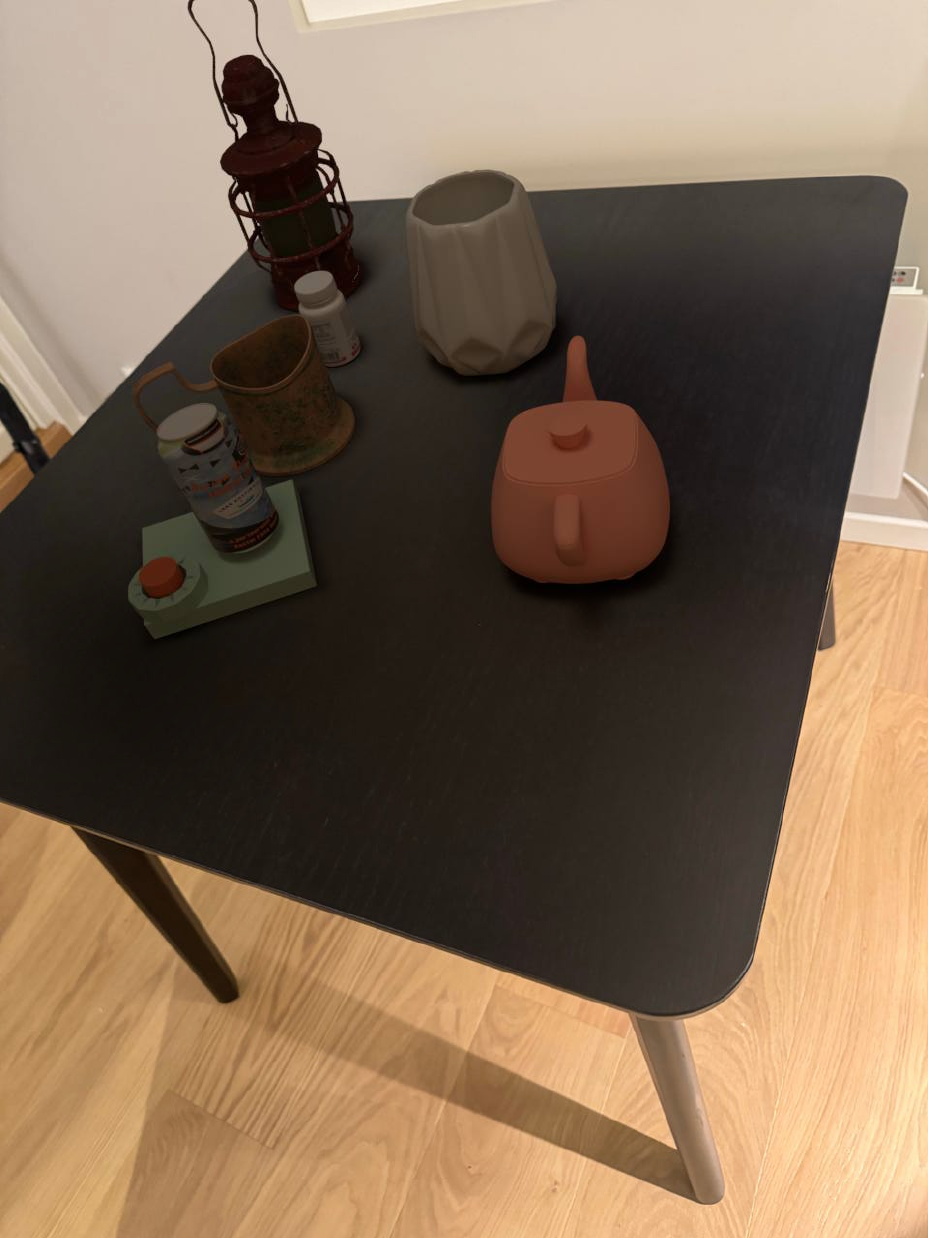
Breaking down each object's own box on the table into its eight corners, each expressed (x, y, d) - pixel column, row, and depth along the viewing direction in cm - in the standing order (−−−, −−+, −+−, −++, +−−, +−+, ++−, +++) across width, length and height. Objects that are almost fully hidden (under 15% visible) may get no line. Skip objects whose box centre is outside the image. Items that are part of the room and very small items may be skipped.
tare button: (147, 604, 74) (138, 591, 73) (146, 576, 77) (138, 563, 75) (185, 591, 74) (177, 578, 73) (183, 564, 77) (175, 551, 75)
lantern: (249, 313, 106) (125, 21, 84) (300, 254, 113) (197, -31, 90) (340, 319, 102) (234, 11, 79) (388, 257, 108) (302, -43, 86)
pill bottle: (345, 335, 100) (320, 262, 93) (370, 350, 97) (346, 276, 90) (309, 357, 98) (281, 285, 92) (333, 373, 95) (306, 300, 89)
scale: (148, 646, 76) (128, 619, 73) (145, 544, 84) (127, 517, 81) (318, 590, 76) (304, 561, 73) (299, 494, 84) (286, 465, 82)
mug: (170, 457, 92) (110, 355, 83) (330, 381, 94) (289, 274, 85) (201, 523, 84) (139, 418, 75) (373, 439, 87) (334, 328, 78)
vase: (556, 383, 87) (533, 229, 75) (412, 393, 90) (369, 248, 79) (570, 297, 95) (551, 148, 84) (437, 309, 99) (402, 167, 88)
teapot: (669, 444, 78) (663, 319, 69) (673, 631, 66) (667, 508, 57) (513, 456, 82) (488, 337, 72) (489, 636, 69) (455, 520, 60)
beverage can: (237, 575, 76) (173, 465, 67) (197, 534, 81) (132, 425, 72) (299, 532, 78) (245, 419, 69) (256, 494, 82) (200, 383, 73)
